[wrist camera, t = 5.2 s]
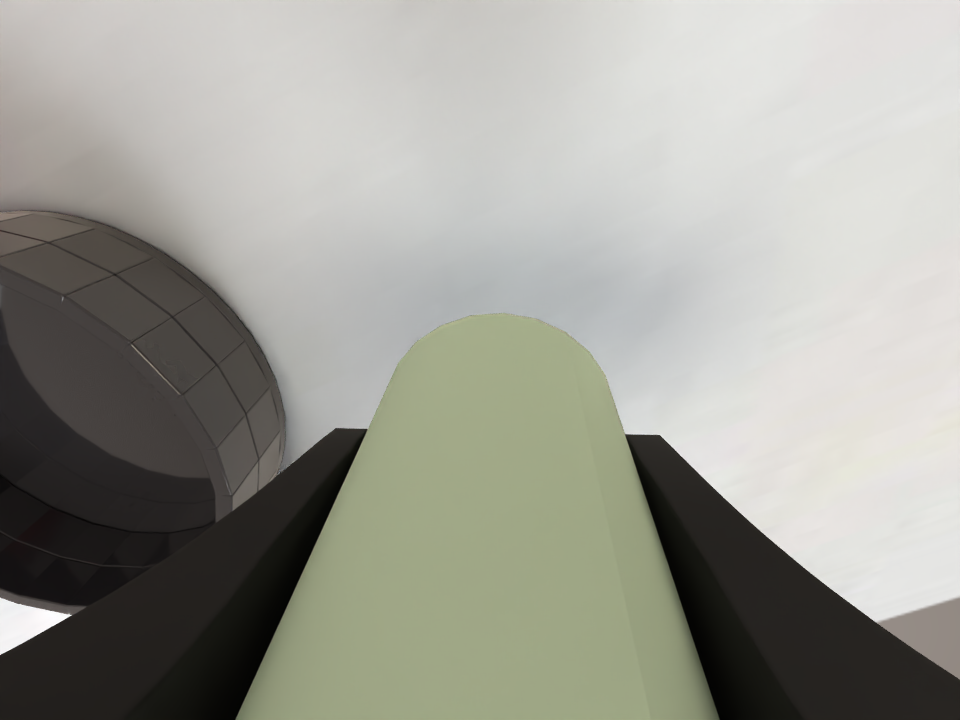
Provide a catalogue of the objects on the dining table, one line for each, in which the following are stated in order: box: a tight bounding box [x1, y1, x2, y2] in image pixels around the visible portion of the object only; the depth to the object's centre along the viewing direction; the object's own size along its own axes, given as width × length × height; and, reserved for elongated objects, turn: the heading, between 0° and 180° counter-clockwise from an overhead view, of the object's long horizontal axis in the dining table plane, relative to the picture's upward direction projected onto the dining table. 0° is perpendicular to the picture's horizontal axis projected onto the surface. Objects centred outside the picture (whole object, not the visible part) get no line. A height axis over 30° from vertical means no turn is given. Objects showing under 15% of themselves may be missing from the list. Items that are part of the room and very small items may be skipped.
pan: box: [0, 210, 285, 615], centre depth 19 cm, size 15×15×4 cm
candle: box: [235, 313, 720, 720], centre depth 7 cm, size 5×5×8 cm
